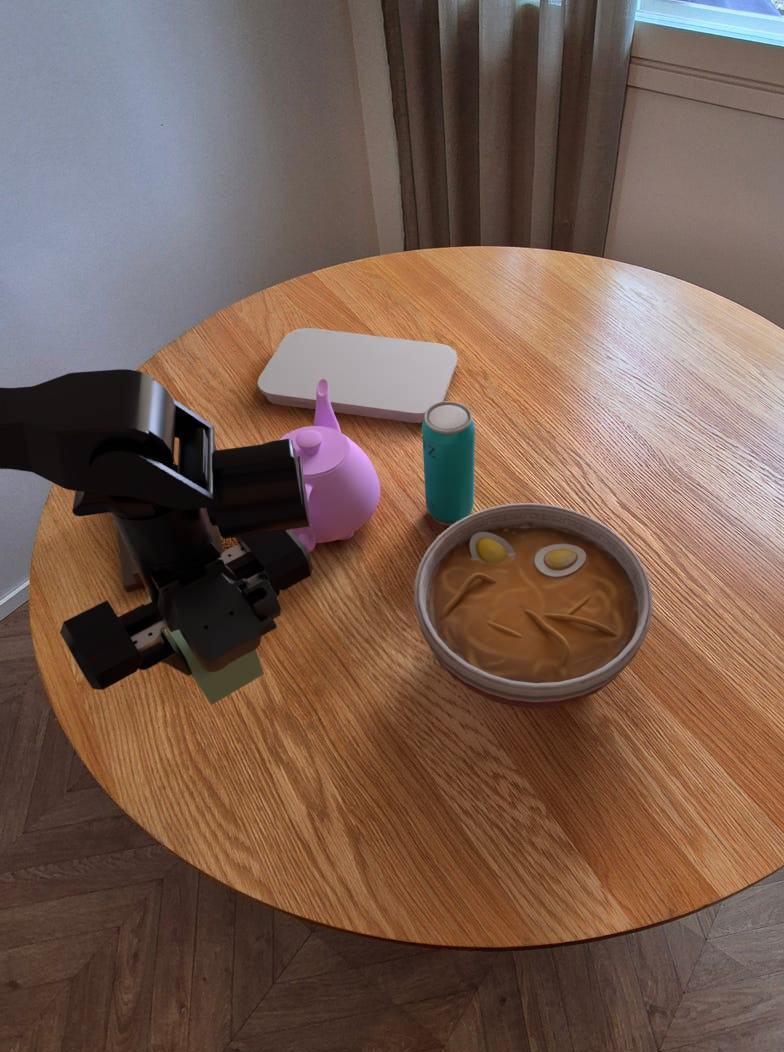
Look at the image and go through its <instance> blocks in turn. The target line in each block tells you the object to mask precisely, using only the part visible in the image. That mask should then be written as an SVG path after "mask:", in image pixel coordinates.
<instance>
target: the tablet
mask: <svg viewBox="0 0 784 1052" xmlns="http://www.w3.org/2000/svg"><path fill="white" fill-rule="evenodd" d="M458 361H459V359H458V353H457V351H456V350H455V349H454V348H453V347H451V346H450V345H447V344H443V343H438V342H437V343H436V342H429V341H421V340H414V339H406V338H405V339H403V338H397V337H388V336H380V335H371V334H364V333H356V332H348V331H341V330H340V331H339V330H338V331H337V330H331V329H322V328H317V327H316V328H315V327H302V328H296V329H295V330H292V331H289V333H286V335H285V336H284V337H283V339H282V340H281V341H280V343H279V345H278V346H277V349H276V350H275V351H274V353H273V355H272V356H271V358H270V359H269V361H268V363H267V364H266V366H265V368H264V369H263V370H262V372H261V373H260V375H259V377H258V378H257V386H258V389H259V391H260V393H261V394H262V395H264V396H265V397H266V400H267V401H269V402H270V403H272V404H275V405H279V406H288V407H294V408H301V409H309V410H316V389H317V385H318V382H319V381H320V380H321V379H325V380H326V381H327V383H328V387H329V398H330V403H331V407H332V409H333V412H334V413H337V414H338V413H339V414H345V415H346V414H347V415H355V416H361V417H369V418H375V419H383V420H391V421H398V422H405V423H412V424H423V422H424V415H425V412H426V410H427V409H428V408H429V407H430V406H432V405H434V404H436V403H439V402H445V398H446V395H447V393H448V390H449V387H450V385H451V382H452V379H453V376H454V374H455V370H456V367H457V364H458Z"/></svg>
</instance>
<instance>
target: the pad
mask: <svg viewBox="0 0 784 1052" xmlns="http://www.w3.org/2000/svg"><path fill="white" fill-rule="evenodd" d="M165 632H166V634H167V635H168V636H169V638H170V639H171V640H172V642H173V643H174V644H175V646H176V647H177V648H178V650H179V651H180V653H181V654H182V656H183V657H184V659H185V660H186V662H187V663H188V665H189V667H190V670H191V672H192V675H191V676H192V679H193V680H194V681H195V683H196V684H197V686H198V687H199V689H200V690H201V692H202V694H203V695H204V697H205V698H206V699H207V701H208V703H209V704H210V705H211V706H213V705H214V704H216V703H219V702H220V701H221V700H222V699H224V698H226V697H228V696H230V695H231V694H233V693H235V692H237V691H239V690H240V689H242V688H243V687H245V686H247V685H248V684H250V683H252V682H253V681H255V680H257V679H259V678H260V677H262V676H263V675H265V672H264V669H263V665H262V663H261V661H260V658H259V657H260V656H259V653H258V651H257V649H255V650H254V651H252V652H250V653H247V654H245V655H244V656H242V657H240V658H239V659H237V660H235V661H233V662H232V663H230V664H228V665H227V666H226V667H224V668H223V669H221V670H219V671H216V672H208V671H206V670H204V669H203V668H202V667H201V666H200V664H199V662H198V661H197V659H196V657H195V655H194V654H193V652H192V651H191V649H190V647H189V646H188V644H187V642H186V641H185V639H184V638H183V636H182V634H181V632H180V630H175V631H173V632H171V631H170V630H169V628H167V629H165Z"/></svg>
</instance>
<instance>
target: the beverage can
mask: <svg viewBox="0 0 784 1052" xmlns="http://www.w3.org/2000/svg"><path fill="white" fill-rule="evenodd" d="M475 427H476V425H475V422H474V420H473V414H472V411H471V410H470V408H469V407H468V406H466V405H465V404H464V403H461V402H457V401H450V400H447V401H445V400H444V401H443V402H439V403H436V404H434V405H432V406H430V407H429V408H428V409H427V410H426V412H425V415H424V422H423V423H421V437H422V452H423V453H422V456H423V476H424V495H425V496H424V497H425V506H426V509H427V511H428V514H429V515H430V517H431V518H432V519H433V521H435V522H436V523H438V524H439V525H442V526H447V527H450V526H451V525H453V524H454V523H456V522H458V521H460V520H461V519H463V518H465V517H467V516H469V515H470V514H471V512H472V510H473V509H474V506H475V505H474V504H475V449H476V448H475V445H476V444H475V437H476V435H475V434H476V430H475V429H476V428H475Z"/></svg>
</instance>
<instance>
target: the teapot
mask: <svg viewBox="0 0 784 1052" xmlns="http://www.w3.org/2000/svg"><path fill="white" fill-rule="evenodd" d="M313 420H314V421H313V425H309V426H304V427H299V428H295V429H293V430H291V431H289V432H287V433H286V434H285V435H282V437H281V438H280V439H279V440H283V439H290V440H292V442H293V447H294V448H295V450H296V453H297V456H300V459H301V464H302V469H303V475H304V481H305V487H306V494H307V500H308V508H309V516H310V527H303V528H296V529H290V530H291V531H292V532H293V533H294V534H295V535H296V536H297V538H298V539H299V540H300V541H301V542H302V543H303V544H304V546H305V547H306V548H307V550H308V552H309V553H310V552H312V551H313V550H314V549H315V547H316V544H324V543H329V542H335V541H337V540H339V541H347V540H349V539H351V538H352V537H353V536H354V535H355V532H356V531H358V530H359V529H361V528H362V527H363V526H364V525H365V524H366V523H368V522H369V520H370V519H371V518H372V517H373V515H374V514H375V512H376V510H377V508H378V506H379V503H380V499H381V485H380V480H379V477H378V474H377V471H376V469H375V467H374V465H373V463H372V461H371V459H370V458H369V457H368V455H367V454H366V452H365V451H364V450H363V449H362V448H361V447H360V446H359V445H358V444H357V443H355V442H354V441H353V440H352V439H351V438H350V437H348V436H347V435H346V434H344V433H342V430H341V427H340V424H339V422H338V419H337V417H336V414H335V412H333V409H332V407H331V403H330V398H329V387H328V383H327V381H326V380H325V379H321V380H320V381H319V382H318V385H317V389H316V409H315V412H314V419H313Z"/></svg>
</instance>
